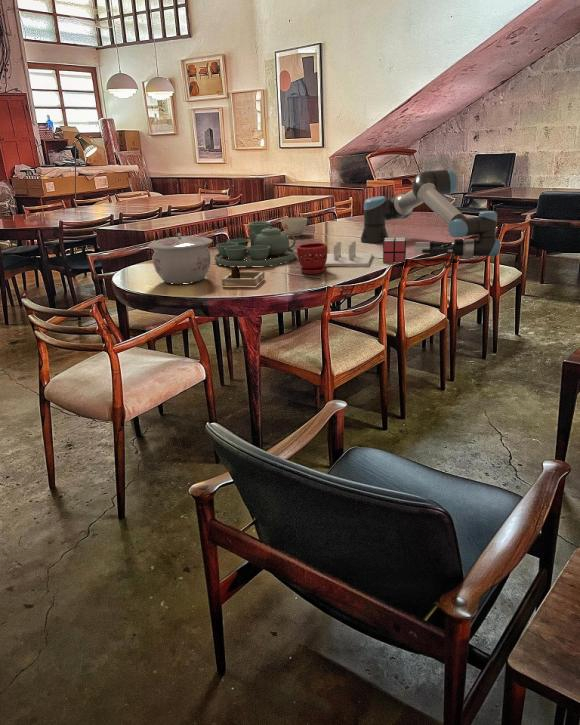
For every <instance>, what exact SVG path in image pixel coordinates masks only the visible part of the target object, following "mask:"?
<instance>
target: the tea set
mask: <svg viewBox="0 0 580 725" xmlns="http://www.w3.org/2000/svg"><path fill="white" fill-rule="evenodd" d="M270 224H271V221H264V220H263V221H262V220H261V221H260V220H259V221H253V222H248V226H249V227H248V228H249V239H250V241H249V239H247V238H233V239H229V240H226V242H222V243H221V242H220V243H217V244H216V245H215V246H216V248H217V251H218V253H217V254H215V255H214V260H215V262H216V264H217V265H218V264H221V265H226V266H246V267H252V266H270V265H275V264H280V263H285V262H287V263H289V262H291V261H290V260H292V259H294V260H295V258H296V252H295V249H293V248H294V246H295V245H296V242H297V241H296V237H294V235H293V234H291V233H286V232H285V233H283V232H282V230H281V229H280V228H278V227H273V226H271V225H270ZM289 235H290V236H292V237H291V238H292V239H293V242H292V245H290V238H289V237H290V236H289ZM288 236H289V237H288ZM249 242H250V246H248V245H249V244H248V243H249ZM228 258H229V259H228ZM270 258H271V259H270ZM244 259H245V260H244ZM265 259H266V260H265ZM246 260H247V261H246ZM288 261H289V262H288ZM292 261H293V260H292ZM285 264H286V263H285ZM221 265H220V266H221ZM280 265H281V264H280ZM226 266H225V267H226ZM275 266H276V265H275ZM270 267H271V266H270Z"/></svg>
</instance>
